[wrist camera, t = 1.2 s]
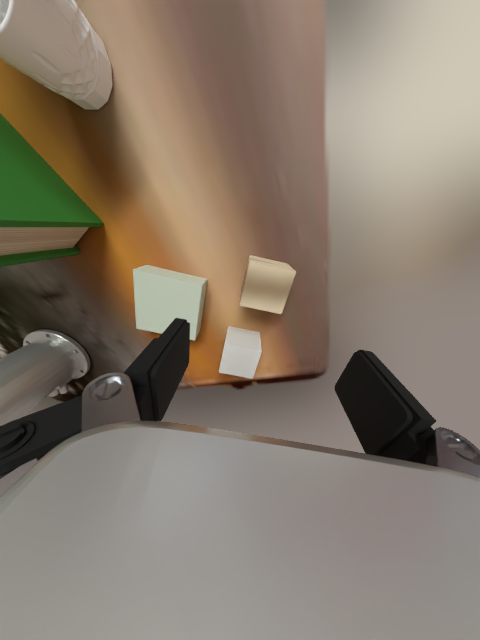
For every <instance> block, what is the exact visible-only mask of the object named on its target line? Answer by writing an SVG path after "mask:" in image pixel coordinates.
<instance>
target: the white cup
mask: <svg viewBox="0 0 480 640" xmlns="http://www.w3.org/2000/svg"><path fill="white" fill-rule="evenodd" d="M0 59H1V60H3V61H4V62H6V63H8V64H9V65H11V66H12V67H14V68H15V69H17V70H19V71H20V72H22V73H23V74H25V75H27V76H28V77H30V78H32V79H34V80H35V81H37V82H38V83H40V84H41V85H43V86H45V87H47V88H49V89H50V90H52V91H53V92H55V93H56V94H60V95H62V96H64V97H65V98H67V99H68V100H70V101H72V102H73V103H75V104H77V105H78V106H80V107H82V108H83V109H85V110H98V109H100V108H101V107H102V106H103V105H104V104H105V103H107V102H108V99H109V96H110V93H111V90H112V86H113V84H112V67H111V63H110V60H109V57H108V54H107V51H106V49H105V46H104V43H103V41H102V40H101V39H100V37H99V36H98V34H97V33H96V31H95V30H94V29H93V27H92V26H91V24H90V23H89V21H88V20H87V19H86V17H85V16H84V15H83V13H82V12H81V10H80V8H79V7H78V5H77V3H76V1H75V0H0Z"/></svg>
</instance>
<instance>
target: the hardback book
mask: <svg viewBox="0 0 480 640" xmlns="http://www.w3.org/2000/svg"><path fill="white" fill-rule="evenodd" d="M102 224H103V222H102V221H101V220H100V219H99V218H98V217H97V216H96V214H95V213H94V212H93V211H92V210H91V209H90V208H89V207H88V206H87V205H86V204H85V203H84V202H83V201H82V200H81V199H80V198H79V196H78V195H77V194H76V193H75V192H74V191H73V190H72V189H71V188H70V187H69V186H68V185H67V184H66V183H65V182H64V181H63V179H62V178H61V177H60V176H59V175H58V174H57V173H56V172H55V171H54V170H53V169H52V168H51V167H50V166H49V165H48V164H47V162H46V161H45V160H44V159H43V158H42V157H41V156H40V155H39V154H38V153H37V152H36V151H35V150H34V149H33V148H32V147H31V146H30V144H29V143H28V142H27V141H26V140H25V139H24V138H23V137H22V136H21V135H20V134H19V133H18V132H17V131H16V130H15V129H14V127H13V126H12V125H11V124H10V123H9V122H8V121H7V120H6V119H5V118H4V117H3V116H2V115H1V114H0V267H2V266H8V265H15V264H21V263H27V262H34V261H40V260H46V259H53V258H59V257H65V256H72V255H78V253H79V252H80V250H79V249H78V248H77V247H76V246H75V244H76V243H77V242H78V241H79V239H80V238H81V237H82V236H83V234H84V233H85V232H86V231H87V229H88V228H89V227H101V226H102Z"/></svg>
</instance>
